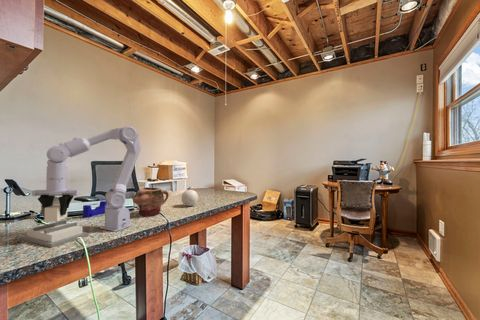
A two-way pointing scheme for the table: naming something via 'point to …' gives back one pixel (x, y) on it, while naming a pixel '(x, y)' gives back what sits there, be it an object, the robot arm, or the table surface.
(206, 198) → the table surface
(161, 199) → the brown handled pot
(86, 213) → the cable clip
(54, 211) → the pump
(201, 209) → the table surface
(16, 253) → the table surface
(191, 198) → the ornament
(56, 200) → the mineral rock
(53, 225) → the stepped base plate
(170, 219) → the table surface
